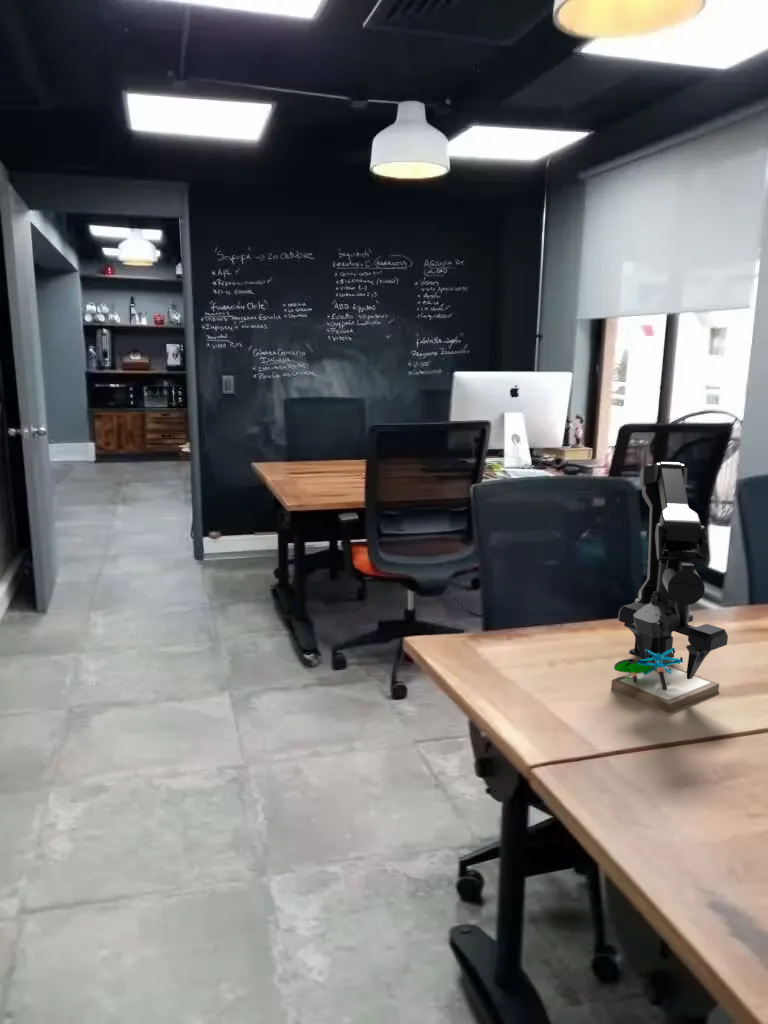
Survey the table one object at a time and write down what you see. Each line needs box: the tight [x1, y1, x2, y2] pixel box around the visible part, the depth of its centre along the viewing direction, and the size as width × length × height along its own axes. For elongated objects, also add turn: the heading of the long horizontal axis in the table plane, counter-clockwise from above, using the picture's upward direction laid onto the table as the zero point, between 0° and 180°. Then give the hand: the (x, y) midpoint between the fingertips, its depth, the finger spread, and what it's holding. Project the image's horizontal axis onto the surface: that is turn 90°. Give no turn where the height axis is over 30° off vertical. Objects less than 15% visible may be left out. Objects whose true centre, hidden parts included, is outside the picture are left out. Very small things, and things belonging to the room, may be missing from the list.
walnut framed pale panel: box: [610, 662, 720, 714], centre depth 138 cm, size 12×15×2 cm
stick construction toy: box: [613, 647, 684, 691], centre depth 136 cm, size 12×7×8 cm
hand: (666, 669), depth 137 cm, fingers open, 9 cm apart
